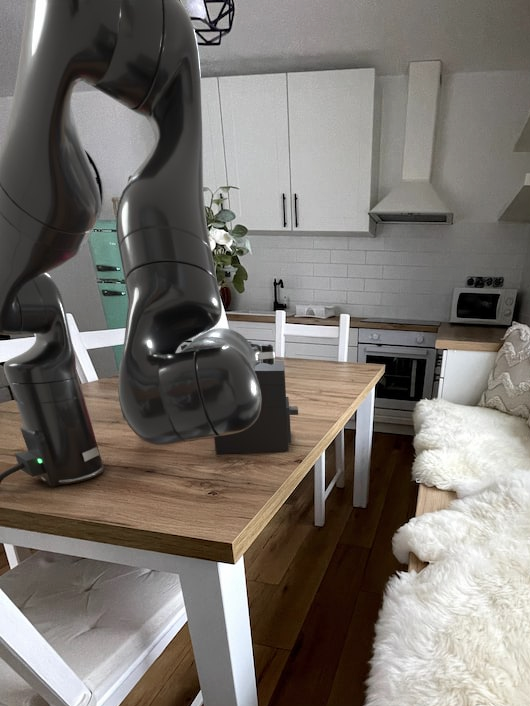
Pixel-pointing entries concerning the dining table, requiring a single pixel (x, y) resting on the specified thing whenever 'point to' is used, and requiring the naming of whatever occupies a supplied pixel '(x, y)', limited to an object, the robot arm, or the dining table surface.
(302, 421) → the dining table surface
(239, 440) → the grey button box
